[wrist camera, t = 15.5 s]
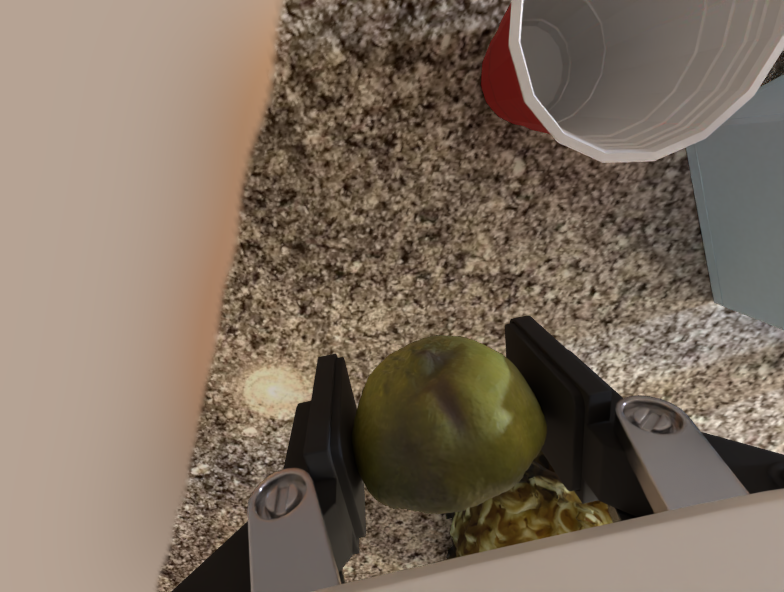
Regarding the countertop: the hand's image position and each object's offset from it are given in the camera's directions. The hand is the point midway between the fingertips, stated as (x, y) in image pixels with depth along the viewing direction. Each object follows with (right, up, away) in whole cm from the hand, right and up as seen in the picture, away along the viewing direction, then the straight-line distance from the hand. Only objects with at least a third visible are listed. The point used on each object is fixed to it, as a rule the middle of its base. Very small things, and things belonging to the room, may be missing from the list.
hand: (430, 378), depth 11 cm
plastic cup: (+7, +17, +13) cm, 23 cm away
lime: (0, 0, +1) cm, 1 cm away
